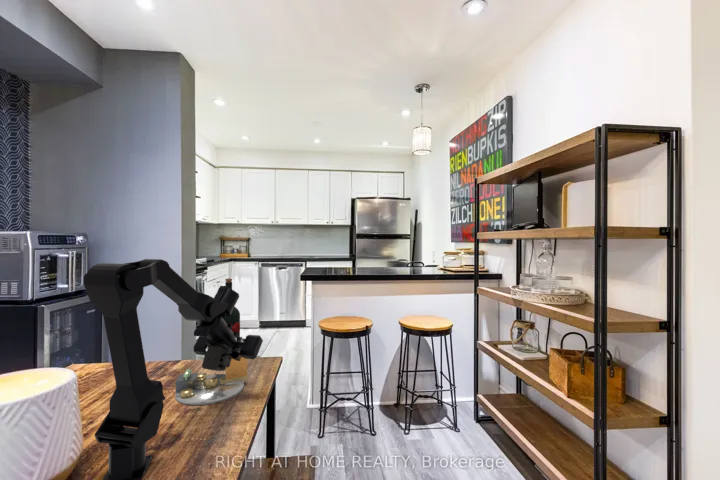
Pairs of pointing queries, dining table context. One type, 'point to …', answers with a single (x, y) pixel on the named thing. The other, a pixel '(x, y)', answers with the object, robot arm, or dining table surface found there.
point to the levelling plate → (204, 389)
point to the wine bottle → (233, 313)
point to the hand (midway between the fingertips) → (239, 359)
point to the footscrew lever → (230, 374)
